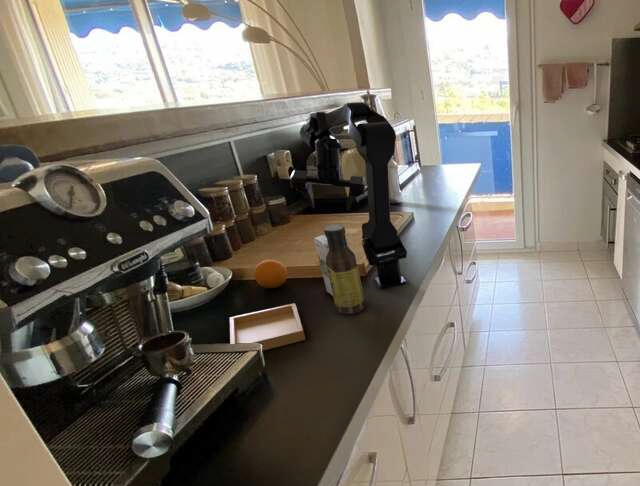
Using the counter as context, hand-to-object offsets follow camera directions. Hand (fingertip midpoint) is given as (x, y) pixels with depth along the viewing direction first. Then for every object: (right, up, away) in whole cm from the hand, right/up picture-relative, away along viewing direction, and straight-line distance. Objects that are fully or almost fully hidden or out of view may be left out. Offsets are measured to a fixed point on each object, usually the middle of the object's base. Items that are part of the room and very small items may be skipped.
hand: (330, 208), depth 129 cm
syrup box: (+11, -24, -19) cm, 33 cm away
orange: (-7, -19, -18) cm, 27 cm away
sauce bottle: (+17, -28, -26) cm, 42 cm away
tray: (+3, -32, -36) cm, 49 cm away
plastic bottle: (+1, +12, +55) cm, 56 cm away
